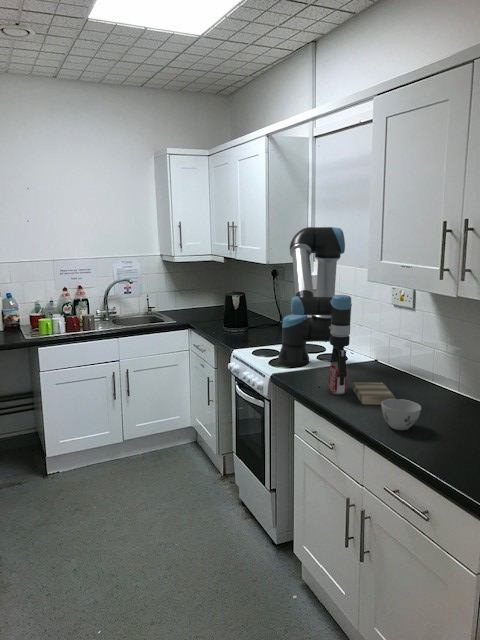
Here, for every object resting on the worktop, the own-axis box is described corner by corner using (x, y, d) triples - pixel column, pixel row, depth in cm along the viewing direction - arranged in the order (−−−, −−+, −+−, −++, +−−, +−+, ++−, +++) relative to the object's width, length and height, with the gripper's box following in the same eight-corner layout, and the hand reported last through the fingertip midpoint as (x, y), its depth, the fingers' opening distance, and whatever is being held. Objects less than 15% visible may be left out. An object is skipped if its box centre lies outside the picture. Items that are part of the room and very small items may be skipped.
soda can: (346, 396, 195) (347, 366, 193) (327, 394, 197) (329, 365, 195) (346, 390, 202) (347, 361, 200) (328, 389, 204) (329, 360, 201)
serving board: (352, 389, 203) (352, 382, 203) (382, 389, 203) (382, 382, 203) (362, 404, 187) (362, 396, 186) (394, 404, 187) (395, 396, 186)
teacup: (427, 432, 161) (429, 409, 160) (393, 436, 158) (394, 412, 157) (401, 415, 176) (403, 394, 174) (369, 418, 173) (370, 396, 171)
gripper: (325, 328, 207) (323, 377, 211) (336, 342, 183) (333, 397, 187) (343, 328, 207) (340, 377, 211) (356, 342, 183) (353, 397, 187)
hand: (337, 387), depth 199 cm, fingers open, 13 cm apart
